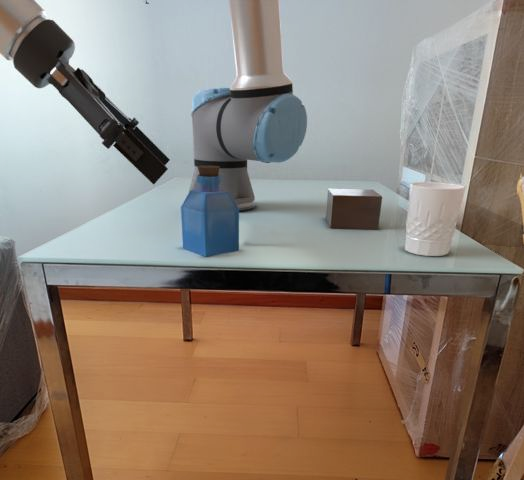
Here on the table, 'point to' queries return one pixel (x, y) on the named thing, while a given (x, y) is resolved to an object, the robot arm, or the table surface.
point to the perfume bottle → (210, 216)
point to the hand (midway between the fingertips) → (162, 171)
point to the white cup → (432, 217)
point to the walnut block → (353, 208)
